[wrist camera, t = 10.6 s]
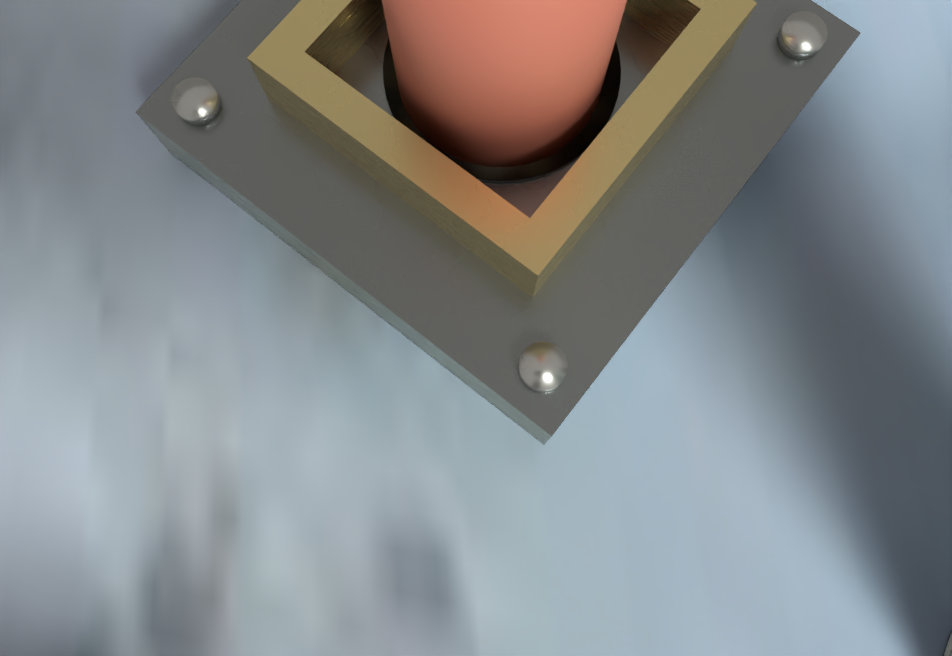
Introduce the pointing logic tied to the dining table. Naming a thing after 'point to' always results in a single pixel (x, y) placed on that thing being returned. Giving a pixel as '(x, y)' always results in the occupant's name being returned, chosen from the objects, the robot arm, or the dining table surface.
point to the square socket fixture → (496, 176)
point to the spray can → (949, 647)
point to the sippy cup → (501, 72)
